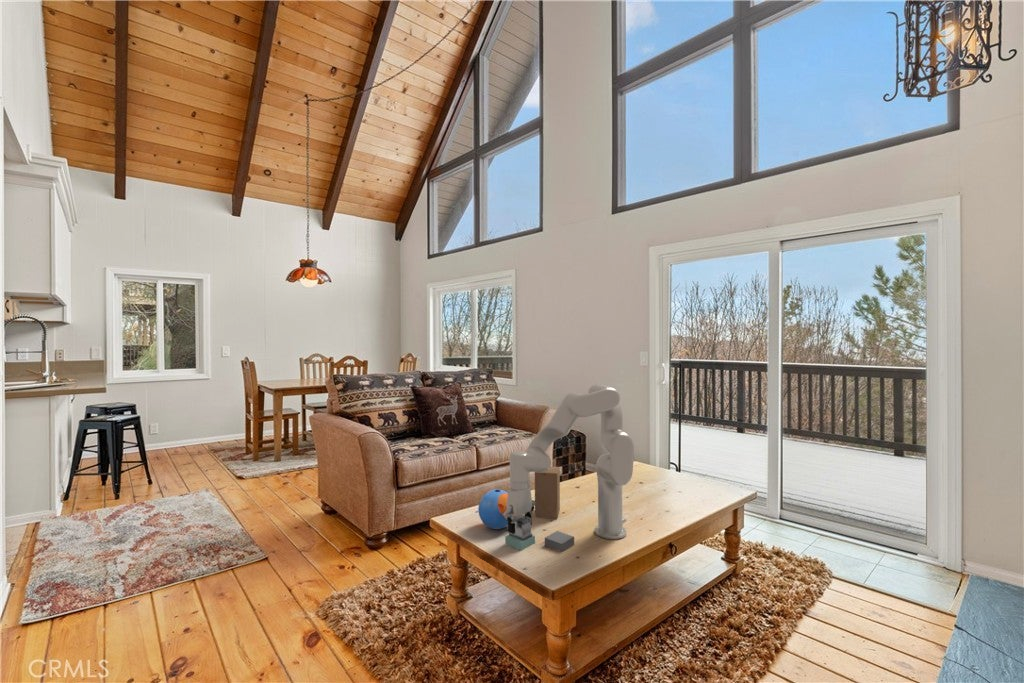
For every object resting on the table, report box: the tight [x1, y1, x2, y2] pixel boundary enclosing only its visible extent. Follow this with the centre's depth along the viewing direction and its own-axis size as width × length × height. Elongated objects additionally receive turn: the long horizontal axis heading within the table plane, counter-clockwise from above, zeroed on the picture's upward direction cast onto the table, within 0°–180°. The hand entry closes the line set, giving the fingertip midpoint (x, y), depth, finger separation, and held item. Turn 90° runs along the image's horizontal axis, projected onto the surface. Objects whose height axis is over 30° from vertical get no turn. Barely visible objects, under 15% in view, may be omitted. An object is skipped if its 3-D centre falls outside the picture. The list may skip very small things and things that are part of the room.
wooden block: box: [534, 466, 561, 520], centre depth 208 cm, size 10×10×20 cm
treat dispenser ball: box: [478, 489, 508, 530], centre depth 195 cm, size 16×15×15 cm
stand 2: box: [544, 530, 575, 553], centre depth 178 cm, size 8×8×3 cm
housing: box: [508, 514, 533, 541], centre depth 180 cm, size 5×8×7 cm, turn 48°
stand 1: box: [504, 534, 536, 551], centre depth 180 cm, size 8×8×3 cm
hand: (520, 528), depth 180 cm, fingers open, 9 cm apart
